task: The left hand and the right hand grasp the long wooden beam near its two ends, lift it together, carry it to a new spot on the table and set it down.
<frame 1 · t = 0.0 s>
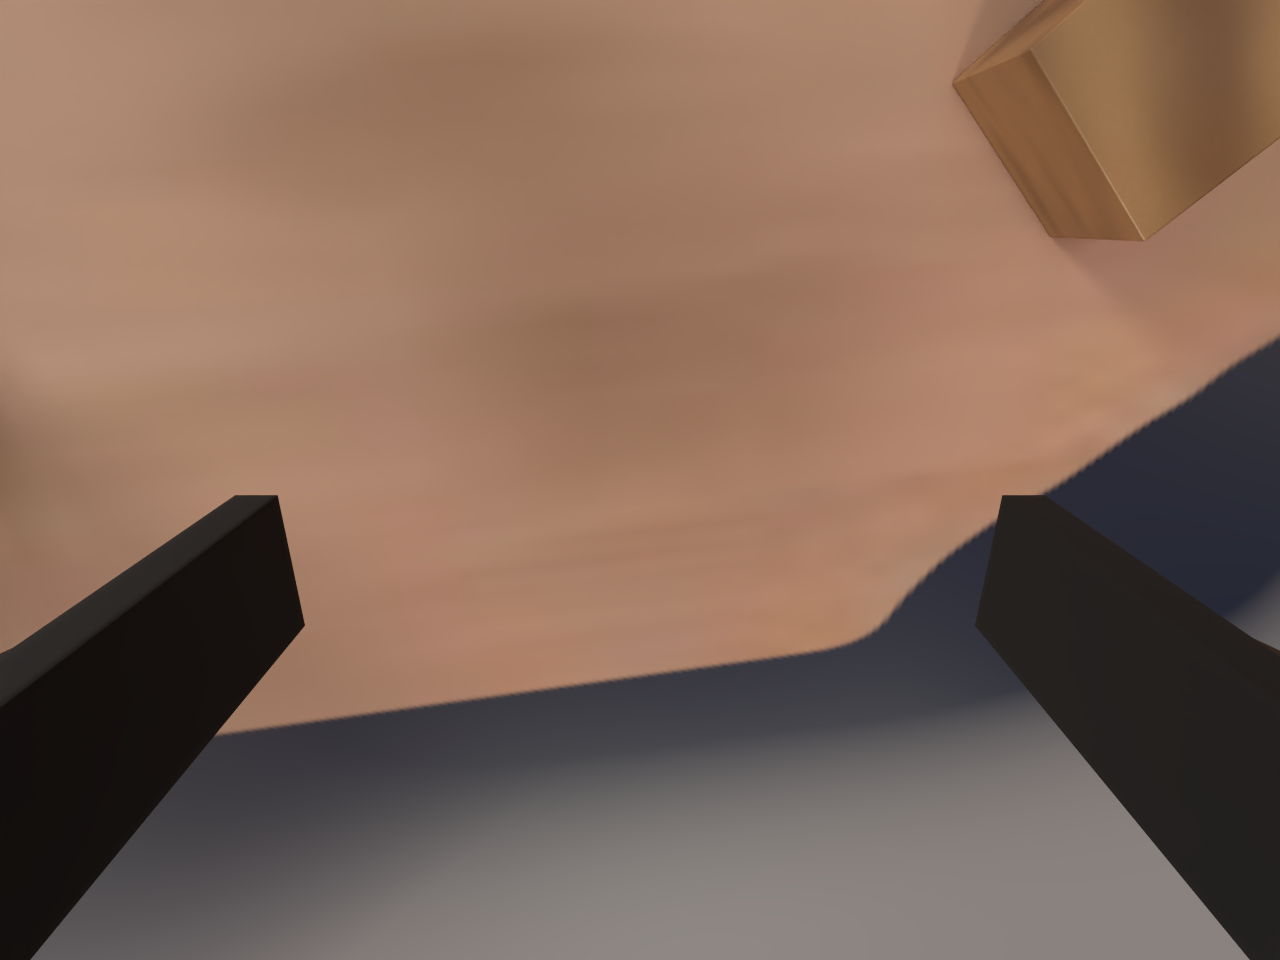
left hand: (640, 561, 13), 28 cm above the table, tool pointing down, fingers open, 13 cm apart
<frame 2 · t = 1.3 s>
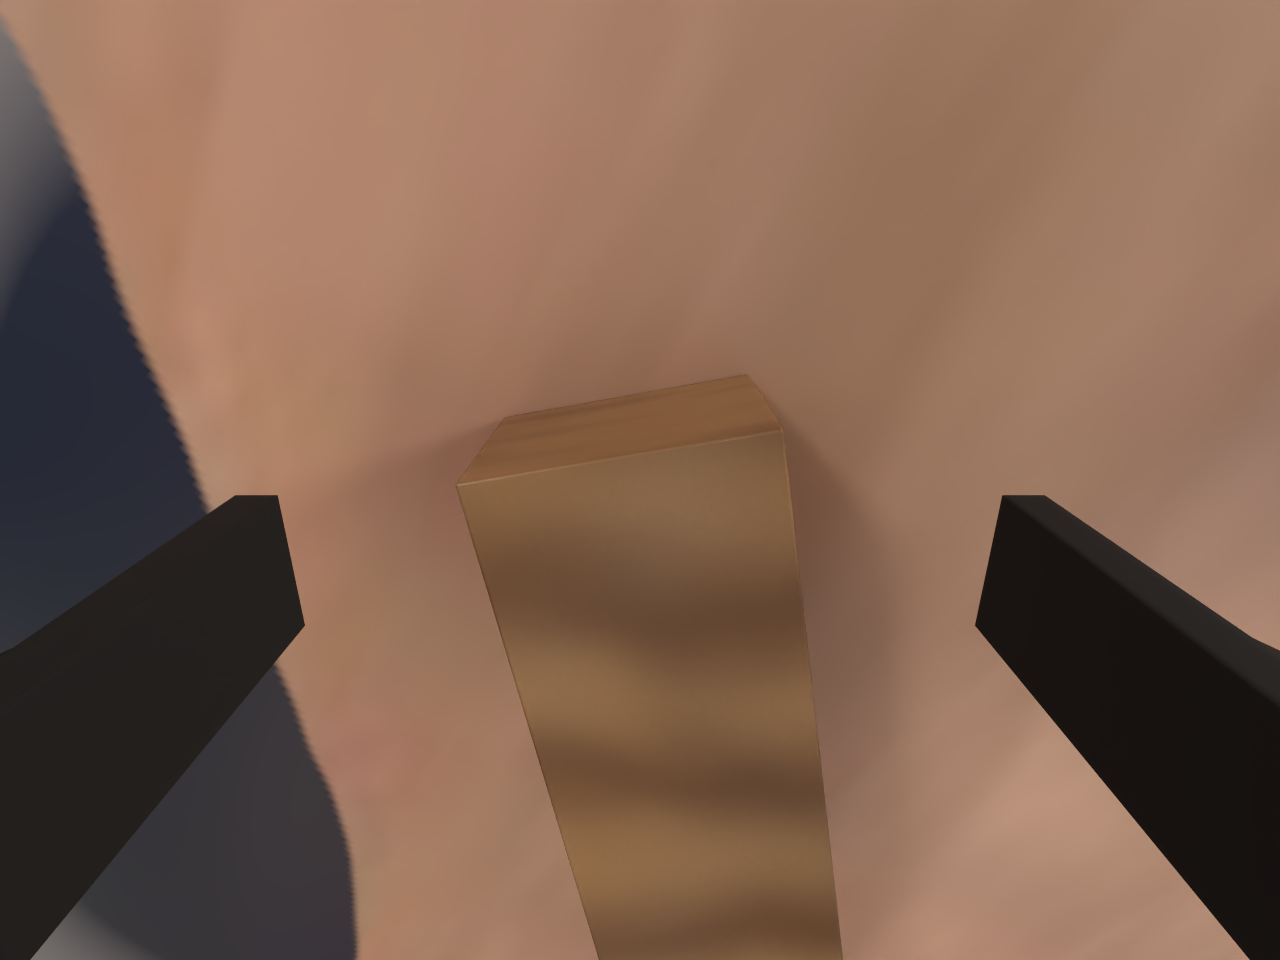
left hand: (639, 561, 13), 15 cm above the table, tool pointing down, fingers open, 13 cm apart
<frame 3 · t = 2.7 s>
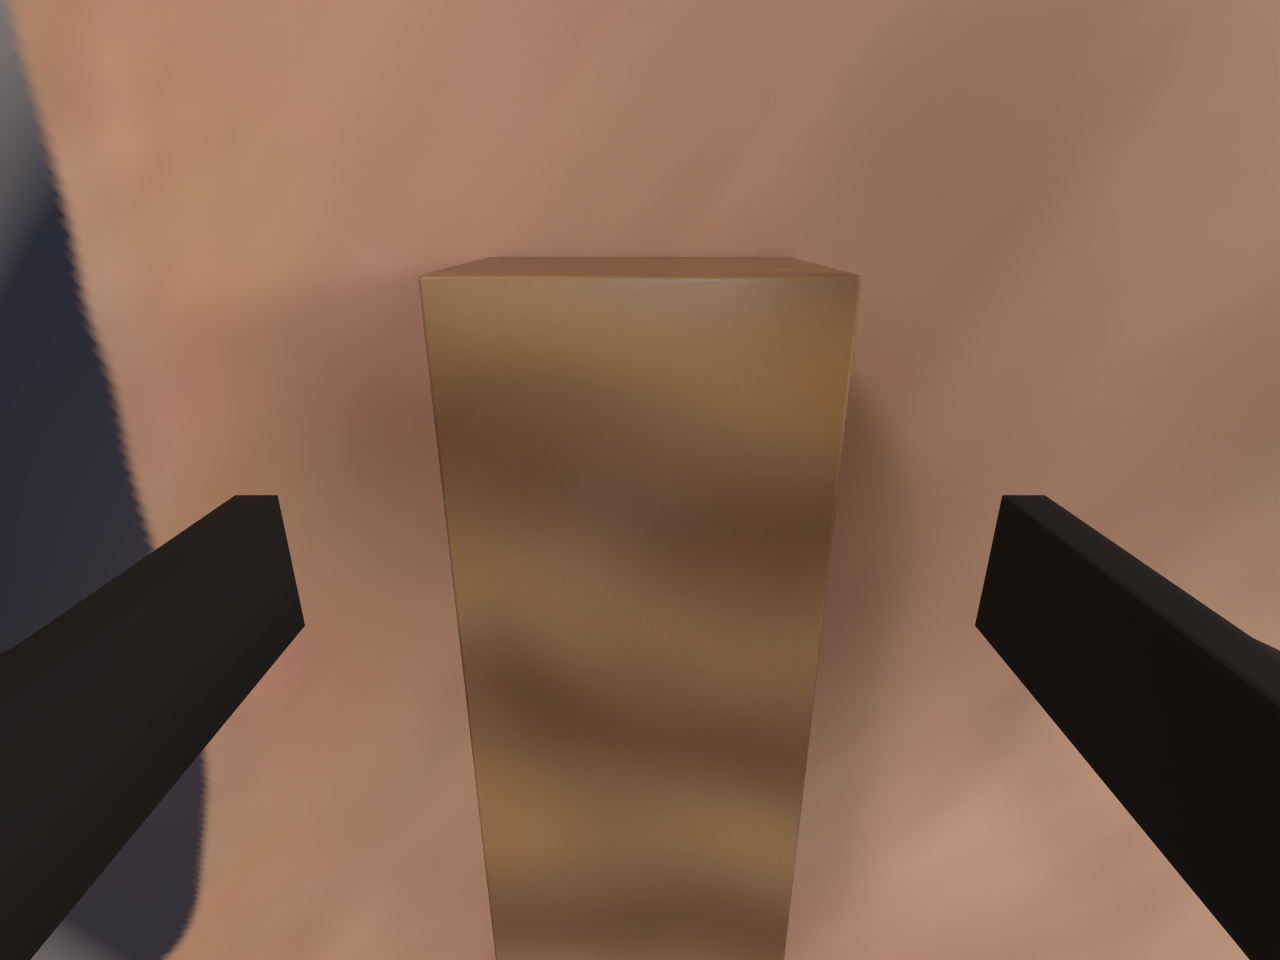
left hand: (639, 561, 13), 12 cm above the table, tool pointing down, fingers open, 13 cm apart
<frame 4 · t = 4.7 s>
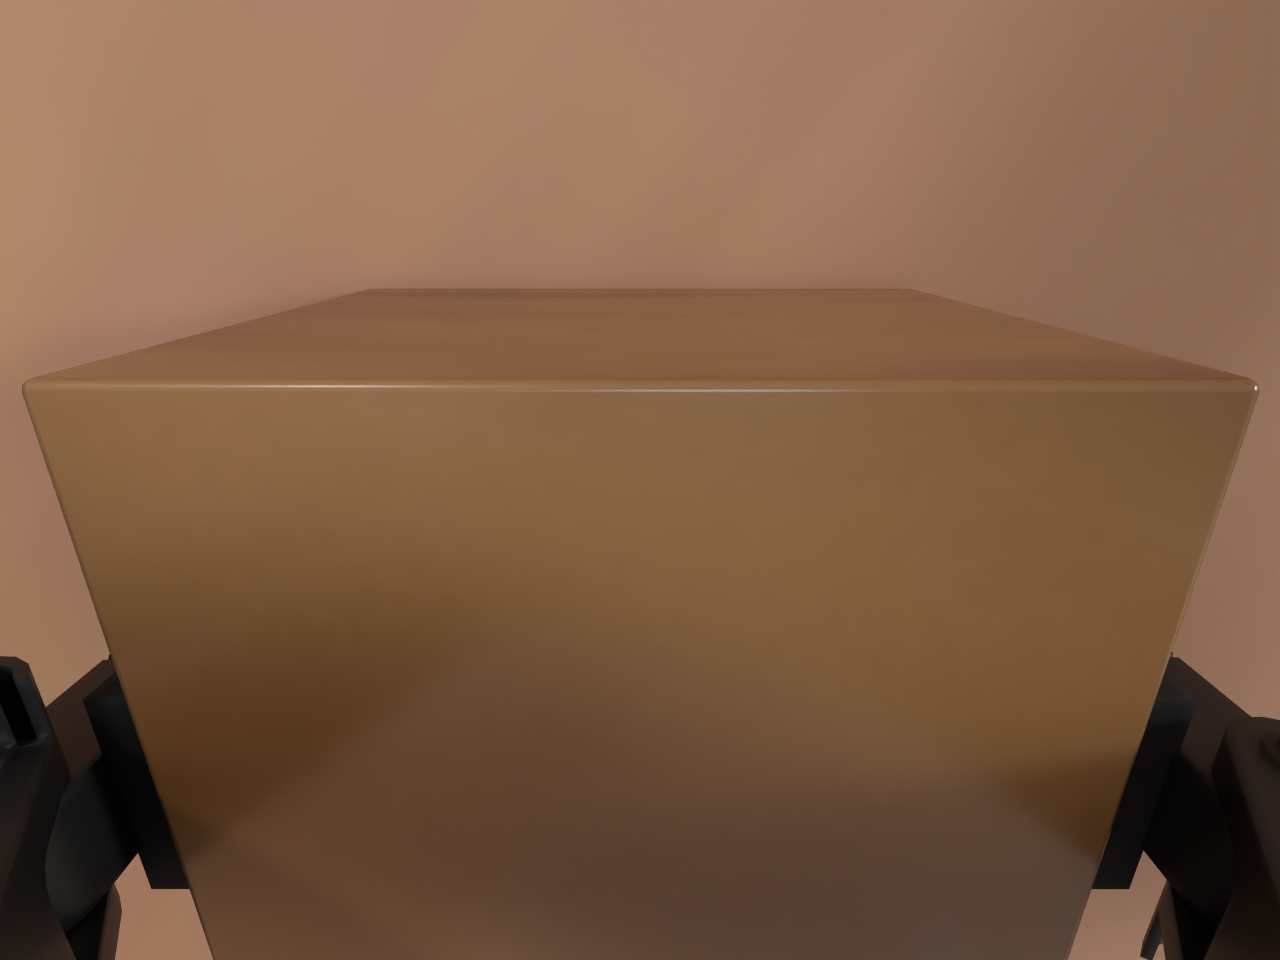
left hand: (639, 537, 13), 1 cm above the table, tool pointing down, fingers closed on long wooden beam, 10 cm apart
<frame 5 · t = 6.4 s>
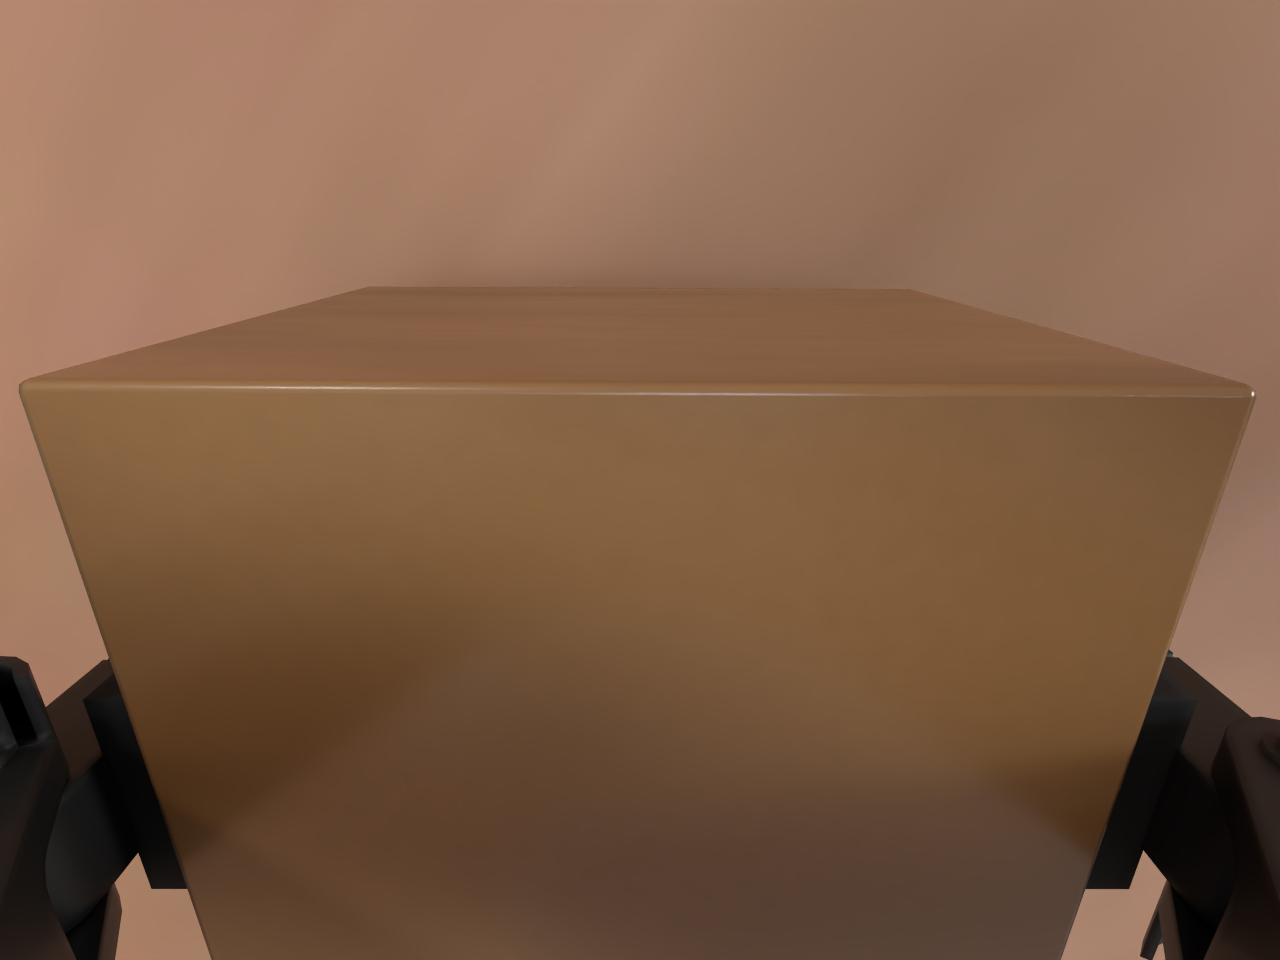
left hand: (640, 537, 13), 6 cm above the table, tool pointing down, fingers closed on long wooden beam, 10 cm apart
when the left hand's fingers open (1 cm above the table, at t = 8.4 s): long wooden beam stays where it is, on the table.
when the right hand's fingers open (1 cm above the table, at t = 8.4 s): long wooden beam stays where it is, on the table.
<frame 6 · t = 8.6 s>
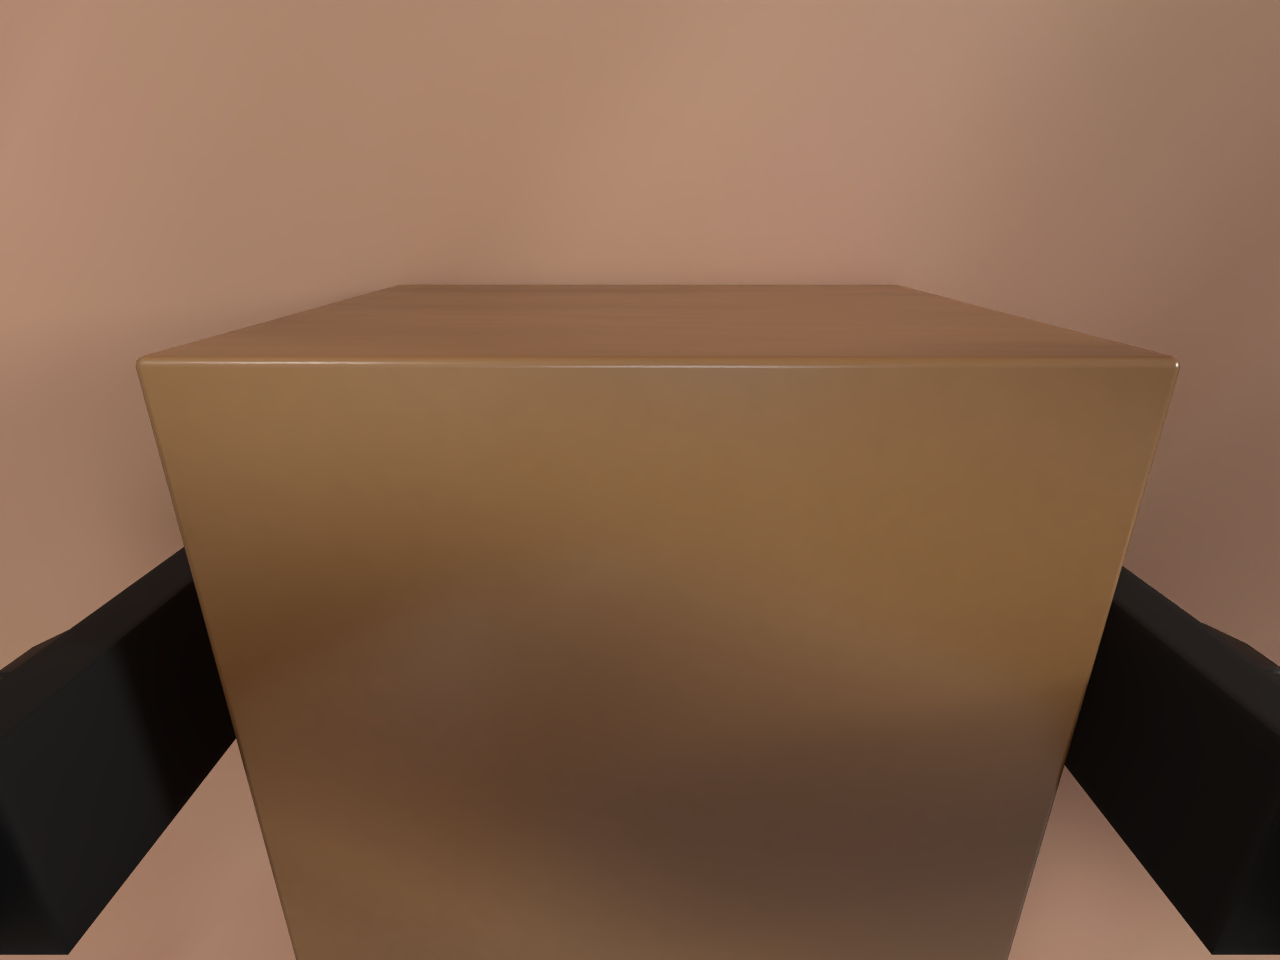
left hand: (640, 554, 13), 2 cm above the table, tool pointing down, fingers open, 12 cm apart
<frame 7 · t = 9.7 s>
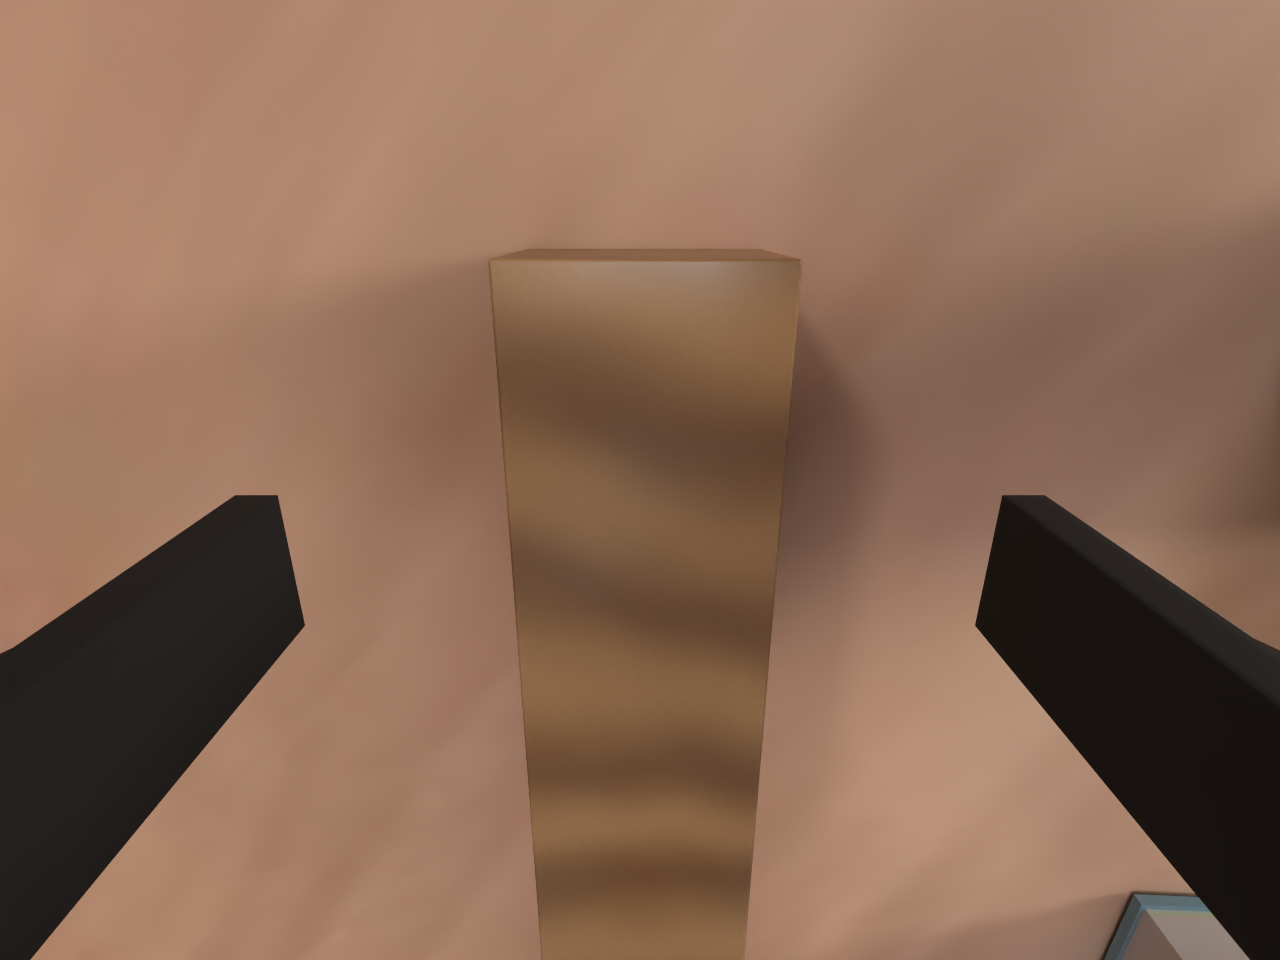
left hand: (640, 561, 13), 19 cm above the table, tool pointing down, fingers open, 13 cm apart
long wooden beam: (642, 871, 41), on the table
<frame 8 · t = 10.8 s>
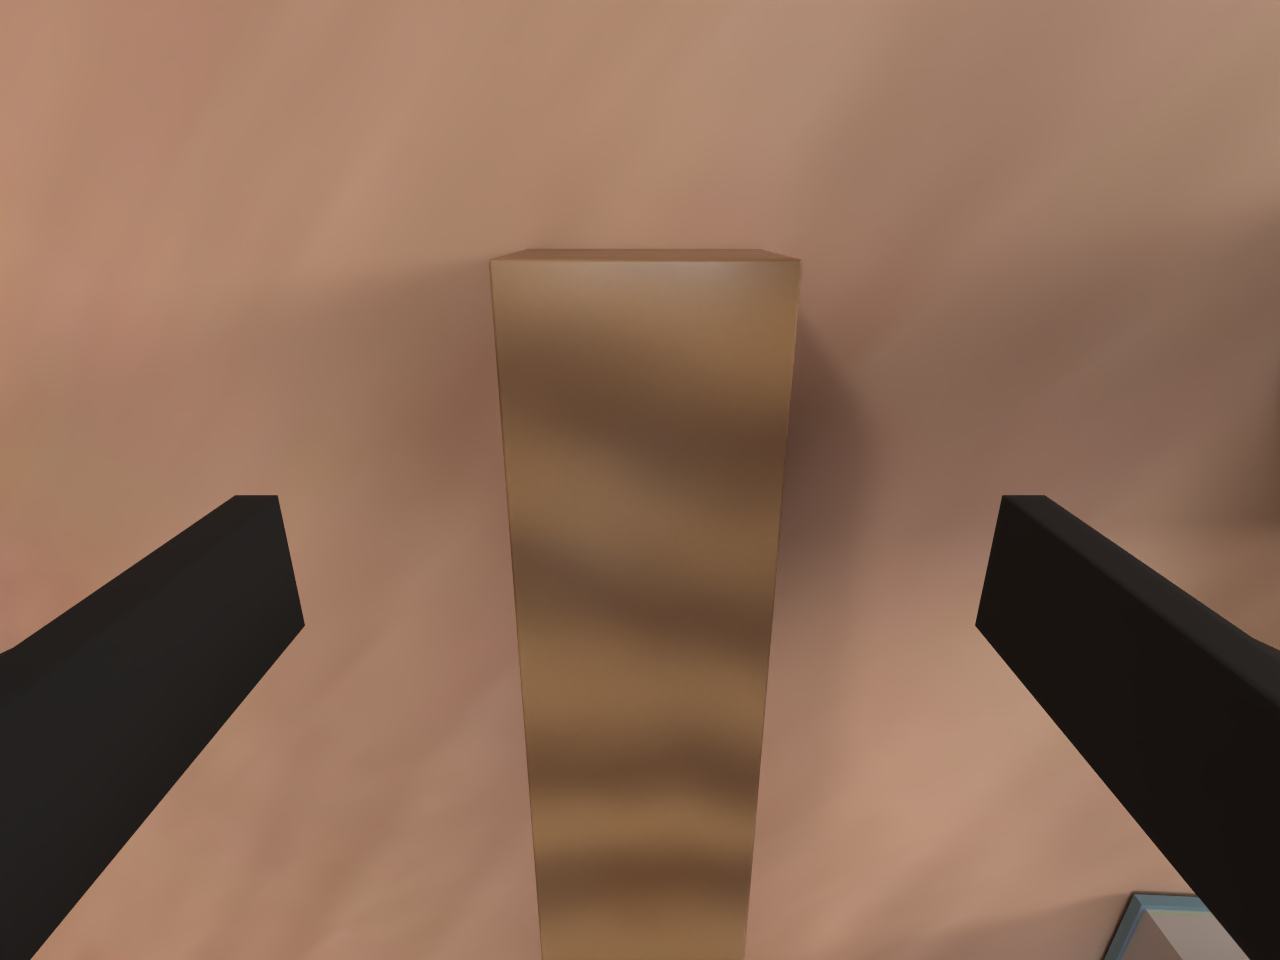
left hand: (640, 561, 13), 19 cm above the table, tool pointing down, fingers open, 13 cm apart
long wooden beam: (642, 871, 41), on the table
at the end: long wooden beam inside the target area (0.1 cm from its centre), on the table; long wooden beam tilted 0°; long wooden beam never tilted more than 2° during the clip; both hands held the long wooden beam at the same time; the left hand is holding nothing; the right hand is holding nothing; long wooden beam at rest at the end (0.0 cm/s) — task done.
